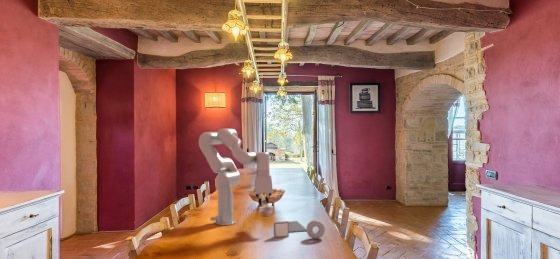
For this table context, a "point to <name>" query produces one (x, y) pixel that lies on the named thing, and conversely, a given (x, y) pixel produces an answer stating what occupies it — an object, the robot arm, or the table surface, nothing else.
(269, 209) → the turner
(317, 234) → the donut
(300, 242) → the table surface
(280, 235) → the tile
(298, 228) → the mat
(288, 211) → the table surface
